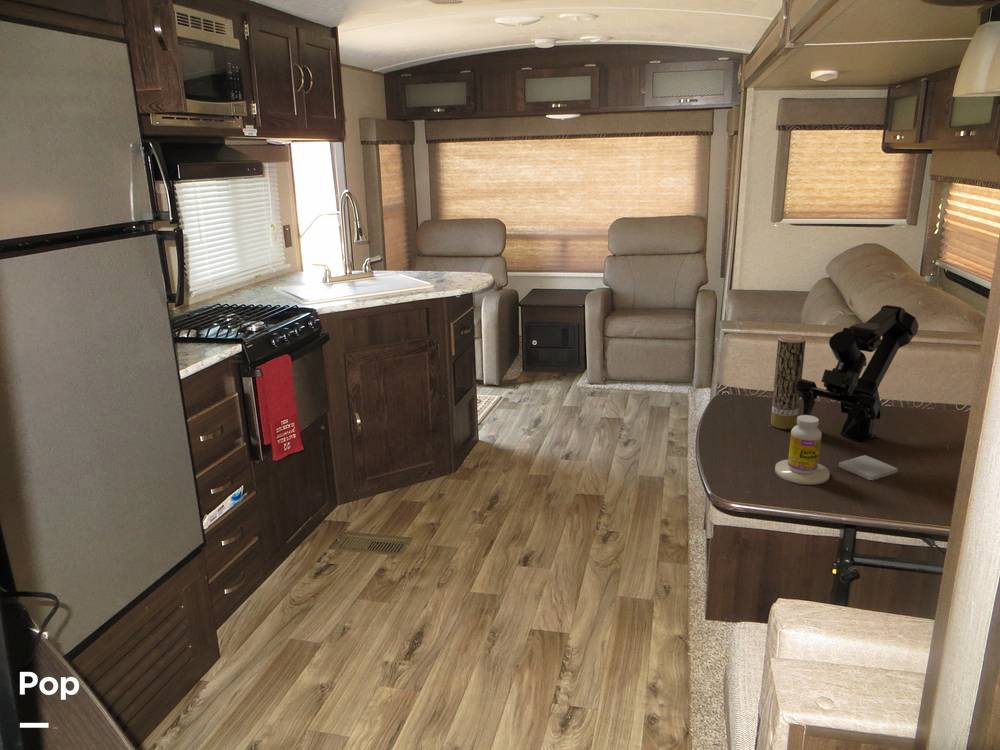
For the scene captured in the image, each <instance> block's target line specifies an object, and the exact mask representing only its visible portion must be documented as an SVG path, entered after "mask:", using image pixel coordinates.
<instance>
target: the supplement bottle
mask: <svg viewBox="0 0 1000 750" xmlns="http://www.w3.org/2000/svg"><path fill="white" fill-rule="evenodd" d="M819 422H820V420H819V418H818V417H816V416H815V415H811V414H810V415H803V414H802V415H798V417H797V426H795V427H793V428H792V429H790V440H789V451H788V458H787V459H788V468H789V469H790V470H792V471H793V472H796V473H800V474H812V473H815V472H816V471H817V469H818V463H819V461H820V454H821V451H820V450H821V444H822V431H821V429H819V427H818V426H819V424H820V423H819Z"/></svg>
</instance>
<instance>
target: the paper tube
mask: <svg viewBox="0 0 1000 750" xmlns="http://www.w3.org/2000/svg"><path fill="white" fill-rule="evenodd" d="M806 342H807V341H806V337H805V336H803V335H800V334H793V333H792V334H790V333H789V334H786V333H785V334H779V335H778V338H777V345H776V346H777V349H776V358H775V370H774V382H773V383H774V384H773V392H772V393H773V394H772V402H771V403H772V405H771V415H770V424H771V426H772V427H774V428H777V429H780V430H792V428H793V427H795V426H797V417H798V416H799V409H800V401H801V397H800V396H799V395H798V393H797V391H796V389H795V385H796V383H797V381H799V380H800V379H803V371H804V361H805V359H804V358H805V351H806V350H805V349H806Z"/></svg>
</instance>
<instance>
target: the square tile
mask: <svg viewBox="0 0 1000 750" xmlns="http://www.w3.org/2000/svg"><path fill="white" fill-rule="evenodd" d="M838 467H839V468H841V469H843V470H845V471H848V472H849V473H853V474H855V475H857V476H858V477H861V478H864V479H866V480H869V481H870V480H872V481H875V480H877V479H881V478H884V477H887V476H890V475H891V476H892V475H894V474H896V473H898V469H899V468H897V467H895V466H892V465H890V464H888V463H886V462H883V461H880V460H878V459H876V458H874V457H871V456H868V455H866V454H864V455H861V456H857V457H854V458H849V459H847V460H844V461H839V462H838ZM874 479H875V480H874Z"/></svg>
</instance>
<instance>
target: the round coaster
mask: <svg viewBox="0 0 1000 750" xmlns="http://www.w3.org/2000/svg"><path fill="white" fill-rule="evenodd" d="M774 473H775V475H776V476H777V477H779V478H781V479H783V480H785V481H786V482H791V483H794V484H798V485H804V486H805V485H806V486H807V485H809V486H811V485H820V484H824V483H826V482H828V481H829V480H830V475H831V471H830V470H829V469H828V468H827V467H826V466H824V465H822V464H820V463H819V462H818V469H817V471H816V472H815V473H812V474H800V473H796V472H793V471H792V470H790V469H789V468H788V458H787V459H782V460H780V461H778V462H776V464H775V467H774Z"/></svg>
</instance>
